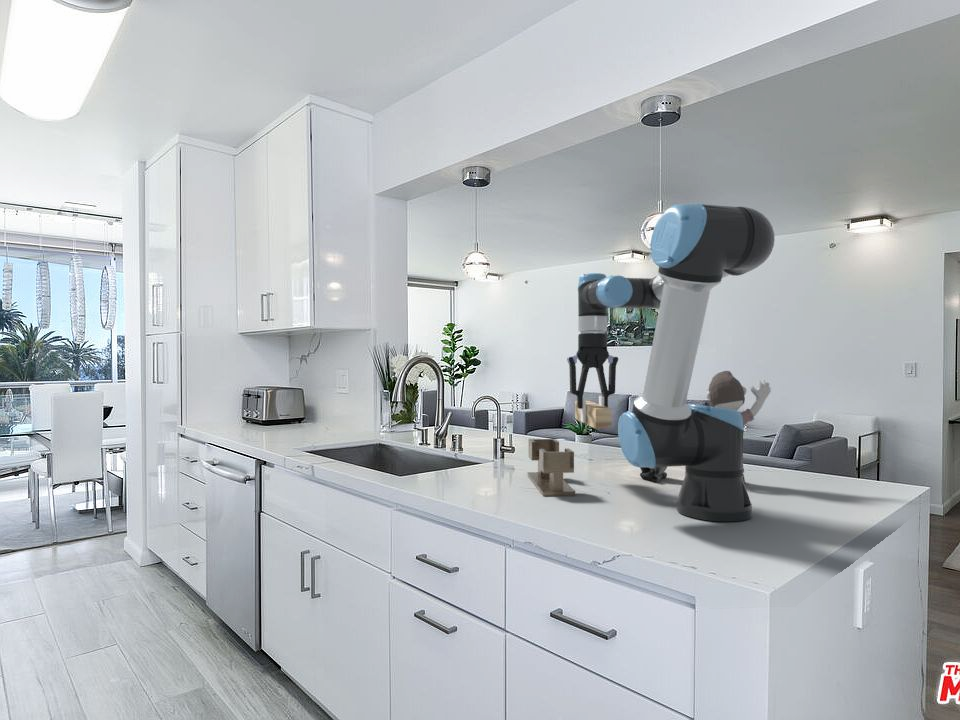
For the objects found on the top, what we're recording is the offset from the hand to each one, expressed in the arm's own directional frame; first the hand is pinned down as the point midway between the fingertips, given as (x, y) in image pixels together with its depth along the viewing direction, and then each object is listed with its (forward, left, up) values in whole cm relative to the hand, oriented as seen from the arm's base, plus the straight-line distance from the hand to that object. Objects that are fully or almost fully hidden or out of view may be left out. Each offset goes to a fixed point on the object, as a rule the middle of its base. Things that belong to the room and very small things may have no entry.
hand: (592, 420), depth 161 cm
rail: (0, 0, -1) cm, 1 cm away
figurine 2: (-1, -39, -17) cm, 42 cm away
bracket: (0, +11, -17) cm, 20 cm away
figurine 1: (+5, -19, -17) cm, 26 cm away
